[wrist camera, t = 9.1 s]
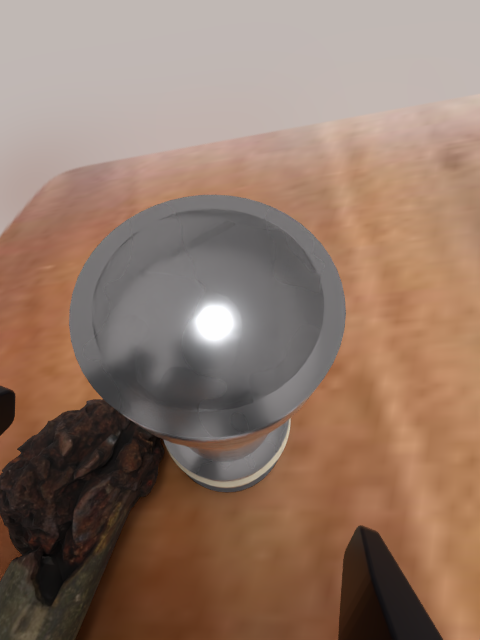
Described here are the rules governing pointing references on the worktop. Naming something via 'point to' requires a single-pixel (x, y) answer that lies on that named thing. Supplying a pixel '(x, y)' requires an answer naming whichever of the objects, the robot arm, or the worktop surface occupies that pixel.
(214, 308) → the metal knob
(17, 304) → the worktop surface
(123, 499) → the brown and green club
